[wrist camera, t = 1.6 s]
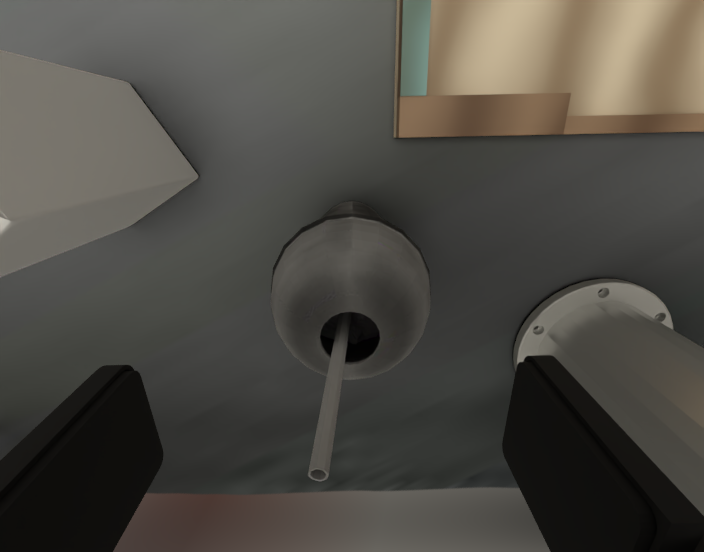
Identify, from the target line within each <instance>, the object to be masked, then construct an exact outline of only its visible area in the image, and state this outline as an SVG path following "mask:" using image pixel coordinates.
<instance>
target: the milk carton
mask: <svg viewBox="0 0 704 552" xmlns="http://www.w3.org/2000/svg"><path fill="white" fill-rule="evenodd" d="M198 177H199V176H198V174H197V173H196V172H195V170H194V169H193V168H192V166H191V165H190V164H189V162H188V161H187V160H186V158H185V157H184V156H183V154H182V153H181V152H180V150H179V149H178V148H177V146H176V145H175V144H174V142H173V141H172V140H171V138H170V137H169V136H168V134H167V133H166V132H165V130H164V129H163V128H162V126H161V125H160V124H159V122H158V121H157V120H156V118H155V117H154V116H153V114H152V113H151V112H150V110H149V109H148V108H147V106H146V105H145V104H144V102H143V101H142V100H141V98H140V97H139V96H138V94H137V93H136V92H135V90H134V89H133V88H132V86H131V85H130V84H129V83H128V82H126V81H122V80H118V79H114V78H110V77H106V76H102V75H98V74H94V73H90V72H86V71H82V70H78V69H74V68H70V67H66V66H62V65H58V64H54V63H50V62H46V61H42V60H38V59H34V58H30V57H26V56H22V55H18V54H14V53H10V52H6V51H2V50H0V277H2V276H4V275H7V274H10V273H12V272H15V271H17V270H20V269H22V268H25V267H27V266H30V265H33V264H35V263H38V262H40V261H43V260H45V259H48V258H50V257H53V256H56V255H58V254H61V253H63V252H66V251H68V250H71V249H73V248H76V247H79V246H81V245H84V244H86V243H89V242H91V241H94V240H96V239H99V238H102V237H104V236H107V235H109V234H112V233H114V232H117V231H119V230H122V229H124V228H127V227H129V226H131V225H133V224H134V223H136V222H137V221H138V220H140V219H141V218H143V217H144V216H146V215H147V214H148V213H150V212H151V211H153V210H154V209H155V208H157V207H158V206H160V205H161V204H162V203H164V202H165V201H167V200H168V199H170V198H171V197H172V196H174V195H175V194H177V193H178V192H179V191H181V190H182V189H184V188H185V187H186V186H188V185H189V184H191V183H192V182H193V181H195V180H196V179H197V178H198Z"/></svg>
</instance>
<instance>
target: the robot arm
mask: <svg viewBox="0 0 704 552" xmlns="http://www.w3.org/2000/svg"><path fill="white" fill-rule="evenodd" d="M513 363H514V368H515V372H516V374H515V379H514V384H513V390H512V395H511V400H510V405H509V411H508V416H507V421H506V426H505V432H504V437H503V443H502V447H503V453H504V457H505V459H506V461H507V463H508V465H509V467H510V469H511V472H512V474H513V476H514V478H515V480H516V482H517V484H518V486H519V488H520V490H521V492H522V494H523V496H524V498H525V500H526V502H527V504H528V506H529V508H530V510H531V512H532V514H533V516H534V519H535V521H536V523H537V525H538V527H539V529H540V531H541V533H542V535H543V537H544V539H545V541H546V543H547V545H548V547H549V549H550V551H551V552H704V348H702V347H701V346H699V345H697V344H696V343H694V342H692V341H691V340H689V339H687V338H686V337H684V336H682V335H681V334H679V333H677V332H676V331H674V330H673V323H672V319H671V314H670V313H669V311H668V309H667V307H666V305H665V304H664V303H663V302H662V301H661V300H660V299H659V298H658V297H657V296H656V295H655V294H653V293H652V292H650V291H648V290H646V289H645V288H643V287H641V286H638V285H636V284H634V283H632V282H628V281H624V280H619V279H596V280H589V281H584V282H581V283H578V284H575V285H572V286H569V287H567V288H565V289H563V290H561V291H559V292H557V293H555V294H554V295H552V296H551V297H549V298H548V299H547V300H545V301H544V302H542V303H541V304H540V305H539V306H538V307H537V308H536V309H535V310H534V311H533V312H532V313H531V314H530V316H529V317H528V318H527V320H526V321H525V322H524V324H523V325H522V327H521V329H520V331H519V333H518V335H517V338H516V342H515V345H514V351H513ZM162 461H163V449H162V446H161V442H160V439H159V436H158V432H157V429H156V426H155V422H154V419H153V415H152V412H151V409H150V405H149V402H148V399H147V395H146V392H145V389H144V385H143V382H142V379H141V376H140V373H139V372H138V371H134V369H133V368H132V367H131V366H129V365H106V366H102V367H100V368H99V369H98V370H97V371H95V372H94V373H93V374H92V375H91V376H90V377H89V378H88V379H87V380H86V381H85V382H84V383H83V384H82V385H81V386H79V387H78V388H77V389H76V390H75V391H74V392H73V393H72V394H71V395H70V396H69V397H68V398H67V399H66V400H65V401H63V402H62V403H61V404H60V405H59V406H58V407H57V408H56V409H55V410H54V411H53V412H52V413H51V414H50V415H49V416H47V417H46V418H45V419H44V420H43V421H42V422H41V423H40V424H39V425H38V426H37V427H36V428H35V429H34V430H33V431H31V432H30V433H29V434H28V435H27V436H26V437H25V438H24V439H23V440H22V441H21V442H20V443H19V444H18V445H17V446H15V447H14V448H13V449H12V450H11V451H10V452H9V453H8V454H7V455H6V456H5V457H4V458H3V459H2V460H1V461H0V552H113V550H114V548H115V547H116V545H117V543H118V541H119V540H120V538H121V536H122V534H123V532H124V531H125V529H126V527H127V525H128V524H129V522H130V520H131V518H132V516H133V515H134V513H135V511H136V509H137V508H138V506H139V504H140V502H141V501H142V499H143V497H144V495H145V493H146V492H147V490H148V488H149V486H150V485H151V483H152V481H153V479H154V477H155V476H156V474H157V472H158V470H159V469H160V466H161V464H162Z"/></svg>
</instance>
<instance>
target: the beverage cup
mask: <svg viewBox="0 0 704 552" xmlns="http://www.w3.org/2000/svg"><path fill="white" fill-rule="evenodd" d="M430 295H431V292H430V275H429V269H428V267H427V264H426V262H425V260H424V257H423V255H422V253H421V250H420V248H419V247H418V246H417V245H416V244H415V243H414V242H413V241H412V240H411V239H410V238H409V237H408V235H407V234H406V233H405V232H404V231H403V230H401V229H400V228H398V227H396V226H394V225H392V224H390V223H389V222H387V221H385V220H383V219H382V218H381V217H380V216H379V215H378V214H377V213H376V212H375V210H374V209H372V208H371V207H369V206H367V205H366V204H364V203H362V202H356V201H347V202H342V203H340V204H338V205H336V206H334V207H333V208H331V209H330V210H329V211H328V212H327V213H326V214H325V215H324V216H323V217H322V218H321V219H319V220H317V221H315V222H313V223H311V224H309V225H307V226H305V227H303V228H301V229H300V230H299V231H298V232H297V233H296V234H295V235H294V236H293V237H292V238H291V239H290V240H289V241H288V242H287V243H286V244H285V245H284V247H283V249H282V251H281V253H280V255H279V257H278V259H277V261H276V263H275V265H274V267H273V276H272V286H271V309H272V313H273V317H274V322H275V326H276V329H277V332H278V334H279V336H280V337H281V339H282V340H283V342H284V343H285V345H286V346H287V348H288V350H289V351H290V352H291V353H292V354H293V355H294V356H295V357H296V358H297V359H298V360H300V361H301V362H302V363H303V364H304V365H306V366H307V367H308V368H309V369H312V370H314V371H316V372H318V373H321V374H323V375H325V376H327V379H326V384H325V390H324V395H323V400H322V405H321V410H320V415H319V420H318V426H317V431H316V436H315V441H314V446H313V451H312V457H311V462H310V467H309V472H308V476H309V477H310V478H311V479H312V480H316V481H323V480H326V479H327V477H328V475H329V468H330V461H331V454H332V447H333V440H334V433H335V426H336V419H337V412H338V405H339V398H340V391H341V384H342V379H346V380H353V379H362V378H371V377H373V376H376V375H378V374H381V373H383V372H386V371H388V370H390V369H392V368H393V367H394V366H396V365H397V364H398V363H399V362H401V361H402V360H403V359H405V358H406V357H407V356H408V355H409V354H410V353H411V351H412V350H413V348H414V347H415V345H416V344H417V343H418V341H419V340H420V338H421V337H422V335H423V332H424V330H425V326H426V323H427V319H428V316H429V312H430V307H431V302H430Z"/></svg>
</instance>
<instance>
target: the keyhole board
mask: <svg viewBox="0 0 704 552" xmlns="http://www.w3.org/2000/svg"><path fill="white" fill-rule="evenodd" d="M701 131H704V0H397V14H396V57H395V101H394V138H404V137H454V136H503V135H553V134H602V133H651V132H701Z"/></svg>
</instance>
